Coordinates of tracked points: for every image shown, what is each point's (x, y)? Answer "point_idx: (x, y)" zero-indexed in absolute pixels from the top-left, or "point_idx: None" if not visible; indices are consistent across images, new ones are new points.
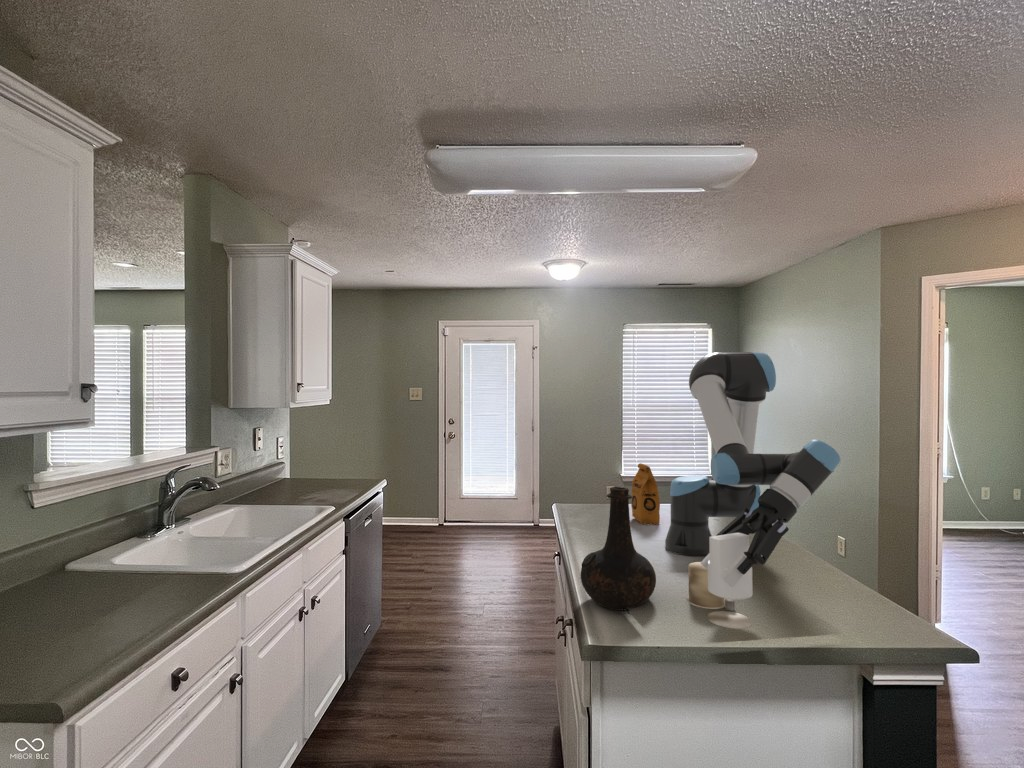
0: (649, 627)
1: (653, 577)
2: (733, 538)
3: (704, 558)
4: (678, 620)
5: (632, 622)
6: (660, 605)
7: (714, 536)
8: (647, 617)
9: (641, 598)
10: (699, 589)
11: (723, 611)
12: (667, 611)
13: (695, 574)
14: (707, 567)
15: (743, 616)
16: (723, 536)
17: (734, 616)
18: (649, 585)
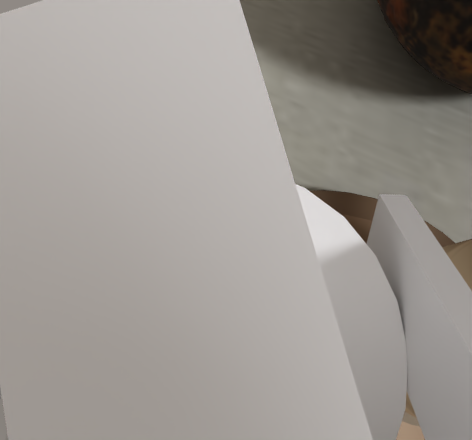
0: (260, 39)
1: (466, 22)
2: (17, 435)
3: (423, 223)
4: (301, 158)
5: (306, 2)
6: (446, 153)
7: (239, 84)
8: (341, 64)
9: (381, 7)
10: None
11: None
12: (386, 154)
13: (463, 242)
14: (370, 246)
15: None
16: (197, 268)
17: None
18: (413, 6)
